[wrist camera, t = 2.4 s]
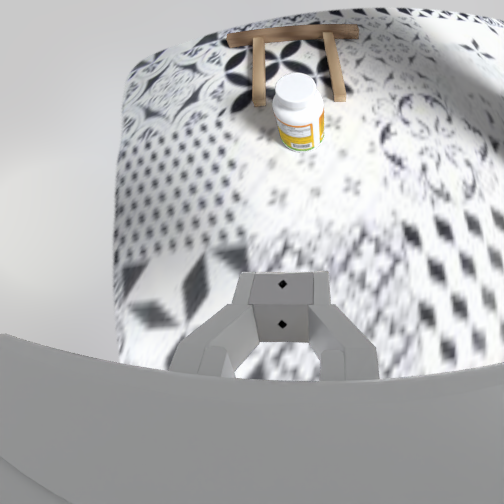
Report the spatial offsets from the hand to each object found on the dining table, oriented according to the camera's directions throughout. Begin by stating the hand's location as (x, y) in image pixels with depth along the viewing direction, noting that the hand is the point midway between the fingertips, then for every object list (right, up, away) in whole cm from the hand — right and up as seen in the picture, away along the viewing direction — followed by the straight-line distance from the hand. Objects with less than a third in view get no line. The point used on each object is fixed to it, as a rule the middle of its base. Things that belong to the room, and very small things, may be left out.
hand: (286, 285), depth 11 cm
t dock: (+5, +28, +27) cm, 40 cm away
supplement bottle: (+5, +15, +25) cm, 30 cm away
